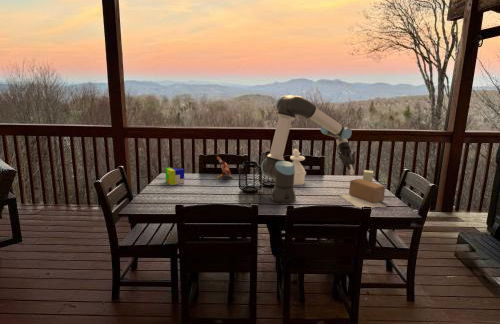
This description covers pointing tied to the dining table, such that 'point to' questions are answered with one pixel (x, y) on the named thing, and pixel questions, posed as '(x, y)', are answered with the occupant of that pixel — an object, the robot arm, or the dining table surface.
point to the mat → (361, 202)
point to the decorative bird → (224, 168)
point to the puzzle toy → (174, 175)
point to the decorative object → (298, 168)
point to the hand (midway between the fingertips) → (352, 173)
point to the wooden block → (367, 190)
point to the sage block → (368, 175)
